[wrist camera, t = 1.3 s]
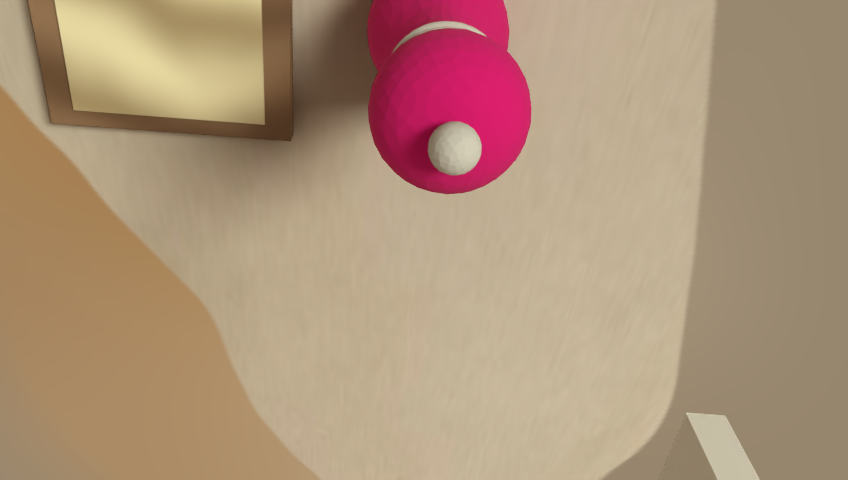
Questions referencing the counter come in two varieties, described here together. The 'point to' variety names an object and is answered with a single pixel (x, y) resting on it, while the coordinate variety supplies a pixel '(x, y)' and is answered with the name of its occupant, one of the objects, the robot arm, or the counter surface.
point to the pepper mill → (446, 92)
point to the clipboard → (169, 65)
